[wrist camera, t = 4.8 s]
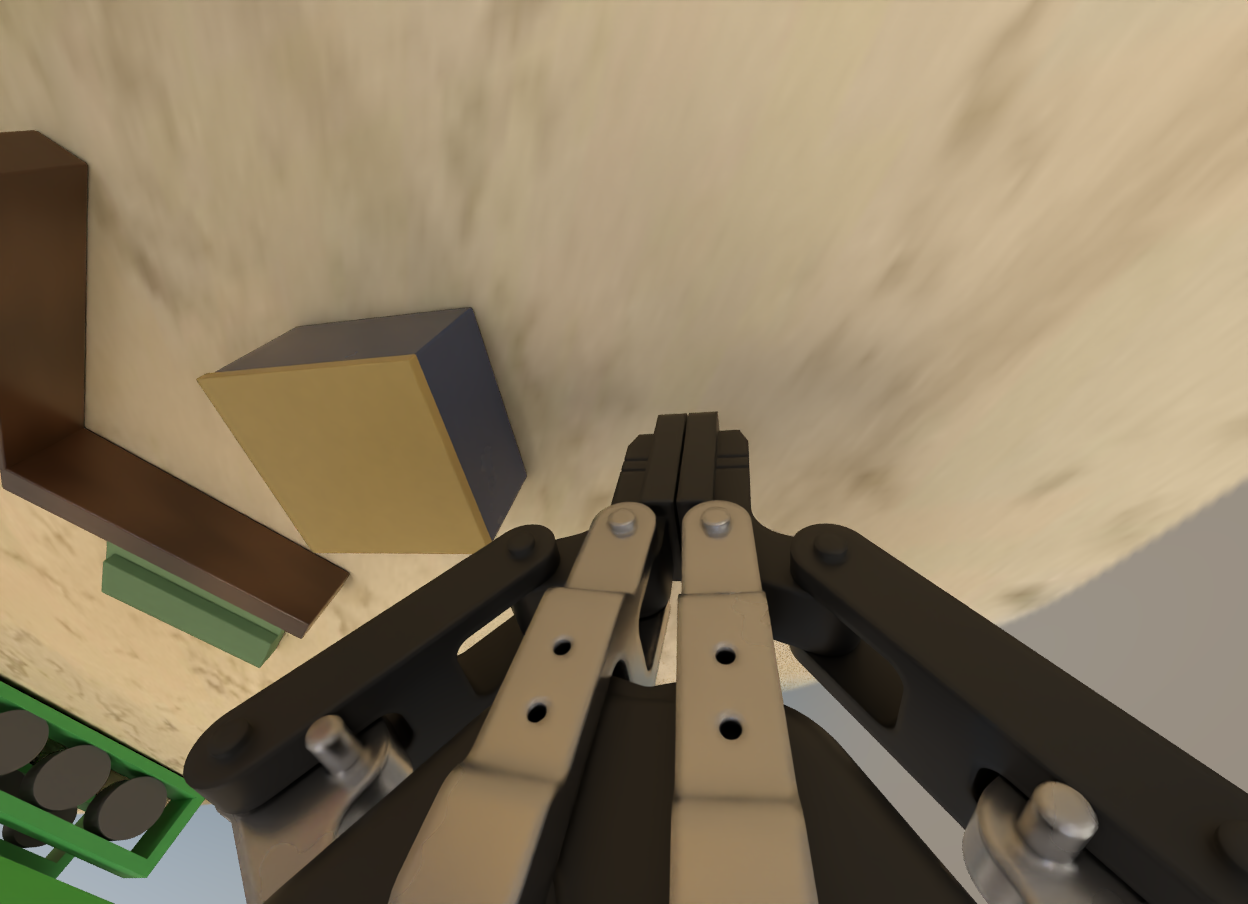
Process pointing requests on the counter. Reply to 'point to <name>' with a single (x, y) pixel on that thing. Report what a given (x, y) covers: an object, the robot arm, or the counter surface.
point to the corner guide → (86, 463)
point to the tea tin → (377, 432)
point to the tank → (77, 804)
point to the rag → (187, 607)
